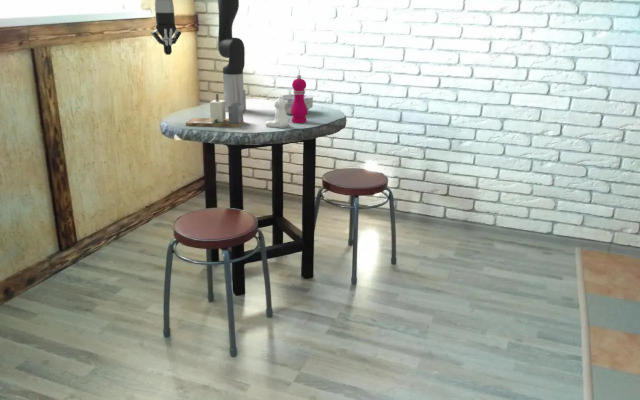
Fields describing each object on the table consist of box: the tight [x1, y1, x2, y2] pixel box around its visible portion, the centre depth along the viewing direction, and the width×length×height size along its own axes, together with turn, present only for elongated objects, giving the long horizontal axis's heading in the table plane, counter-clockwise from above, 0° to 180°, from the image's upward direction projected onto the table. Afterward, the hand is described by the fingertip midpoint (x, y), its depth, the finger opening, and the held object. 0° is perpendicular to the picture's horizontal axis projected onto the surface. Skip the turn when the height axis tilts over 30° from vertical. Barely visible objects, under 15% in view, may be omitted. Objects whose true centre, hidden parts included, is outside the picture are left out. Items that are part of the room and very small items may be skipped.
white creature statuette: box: [265, 97, 290, 129], centre depth 224 cm, size 10×9×12 cm
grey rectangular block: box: [228, 103, 244, 124], centre depth 227 cm, size 4×10×7 cm, turn 177°
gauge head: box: [209, 93, 227, 122], centre depth 225 cm, size 5×8×11 cm, turn 177°
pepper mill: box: [290, 74, 309, 124], centre depth 232 cm, size 7×7×20 cm
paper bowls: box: [279, 93, 314, 115], centre depth 253 cm, size 15×15×8 cm
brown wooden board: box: [185, 117, 244, 128], centre depth 229 cm, size 22×11×1 cm, turn 87°
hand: (168, 54), depth 231 cm, fingers closed
